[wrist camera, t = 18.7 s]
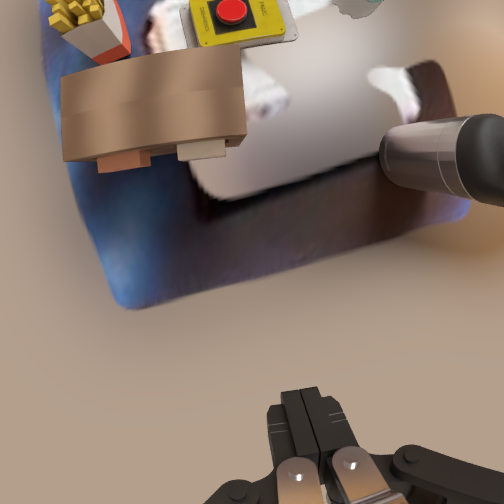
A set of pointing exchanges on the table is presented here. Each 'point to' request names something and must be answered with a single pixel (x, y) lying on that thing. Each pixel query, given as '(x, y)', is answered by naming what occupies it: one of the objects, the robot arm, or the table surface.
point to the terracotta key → (124, 161)
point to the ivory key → (201, 150)
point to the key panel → (154, 103)
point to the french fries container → (92, 27)
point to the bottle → (357, 7)
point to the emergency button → (237, 23)
